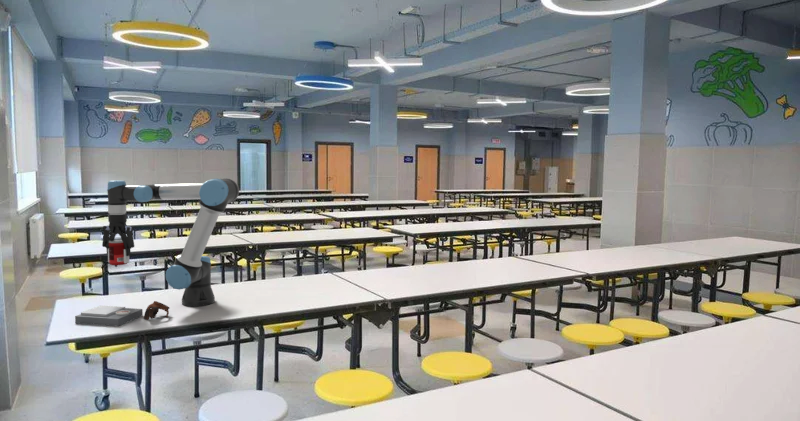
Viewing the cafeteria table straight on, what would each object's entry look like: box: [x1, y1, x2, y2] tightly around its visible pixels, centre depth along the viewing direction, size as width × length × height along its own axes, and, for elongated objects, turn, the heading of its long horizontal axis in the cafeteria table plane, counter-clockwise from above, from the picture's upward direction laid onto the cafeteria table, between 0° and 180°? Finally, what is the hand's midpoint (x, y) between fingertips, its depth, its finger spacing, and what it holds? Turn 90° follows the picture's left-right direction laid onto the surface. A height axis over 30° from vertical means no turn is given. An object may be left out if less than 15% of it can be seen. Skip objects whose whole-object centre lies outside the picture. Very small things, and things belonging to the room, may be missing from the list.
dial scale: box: [74, 305, 144, 327], centre depth 232 cm, size 20×16×4 cm
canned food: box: [108, 238, 128, 266], centre depth 250 cm, size 8×8×11 cm
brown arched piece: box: [143, 300, 170, 321], centre depth 235 cm, size 12×10×8 cm
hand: (118, 262), depth 250 cm, fingers closed on canned food, 8 cm apart
